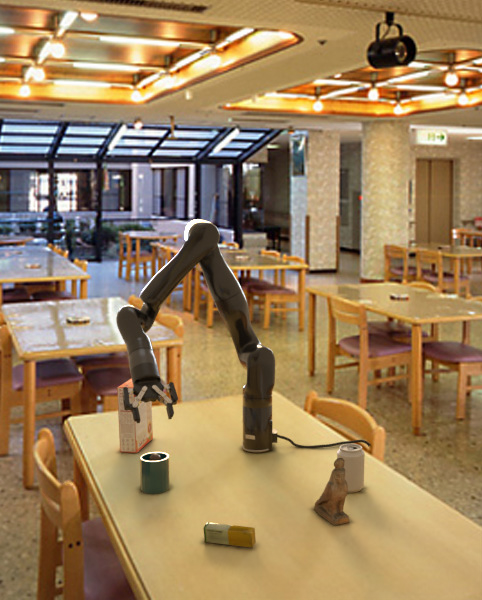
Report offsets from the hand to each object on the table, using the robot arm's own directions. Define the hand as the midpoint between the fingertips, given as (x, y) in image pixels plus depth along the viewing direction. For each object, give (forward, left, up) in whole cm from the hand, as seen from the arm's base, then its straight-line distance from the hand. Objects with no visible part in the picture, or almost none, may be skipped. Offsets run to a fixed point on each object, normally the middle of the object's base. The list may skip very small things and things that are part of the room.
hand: (154, 419), depth 211 cm
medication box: (-21, +34, -20) cm, 44 cm away
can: (-53, +3, -20) cm, 56 cm away
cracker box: (+10, -37, -20) cm, 43 cm away
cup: (0, -1, -20) cm, 20 cm away
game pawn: (0, -1, -19) cm, 19 cm away
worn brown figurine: (-46, +20, -20) cm, 53 cm away
